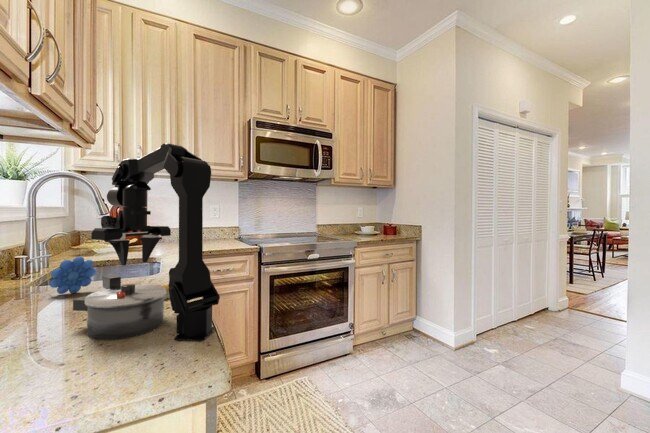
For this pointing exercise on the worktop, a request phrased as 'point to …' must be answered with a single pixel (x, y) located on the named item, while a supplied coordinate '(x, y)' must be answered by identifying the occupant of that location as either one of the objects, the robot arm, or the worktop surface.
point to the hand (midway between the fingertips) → (134, 263)
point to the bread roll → (166, 291)
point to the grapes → (72, 275)
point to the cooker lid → (123, 294)
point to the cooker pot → (121, 319)
